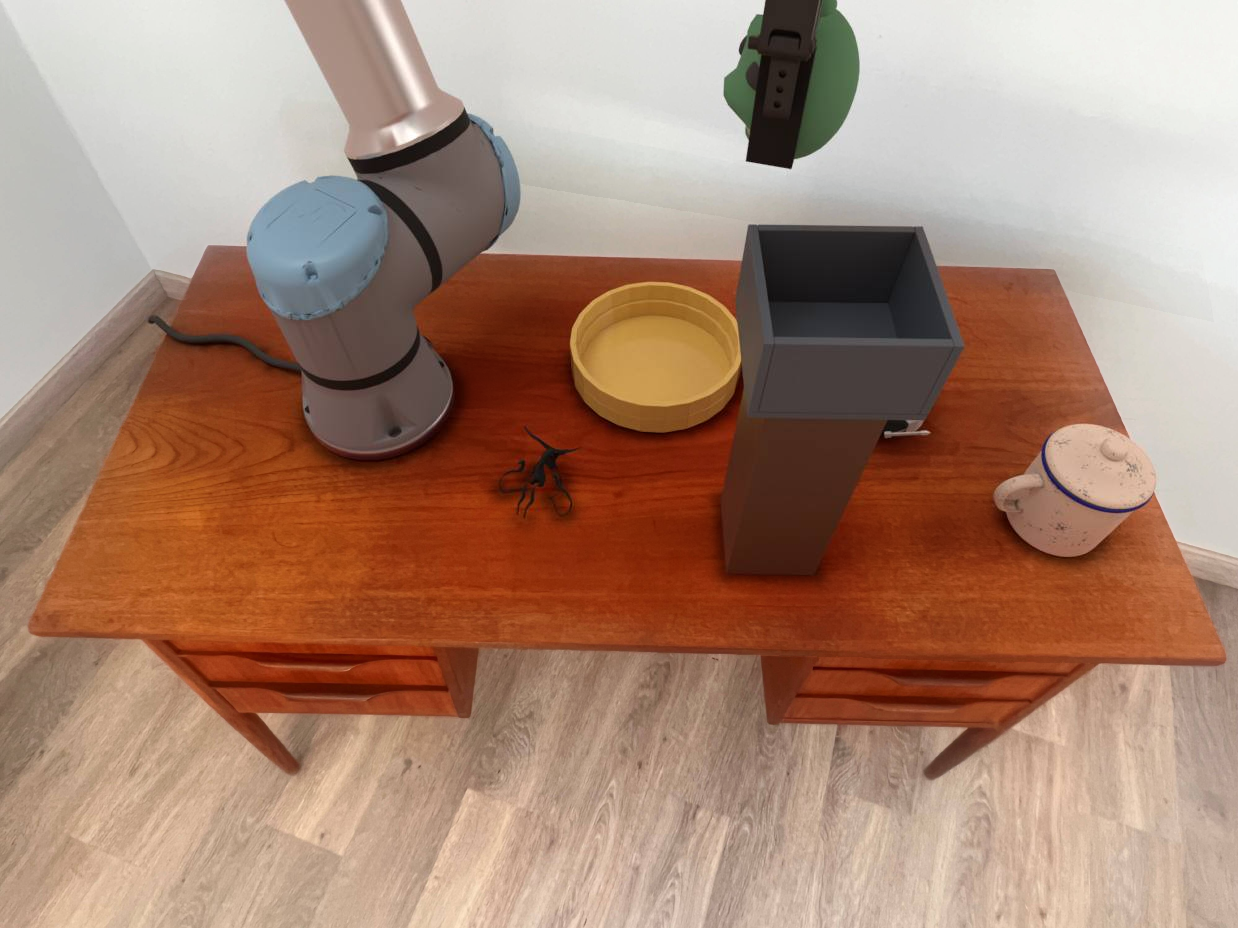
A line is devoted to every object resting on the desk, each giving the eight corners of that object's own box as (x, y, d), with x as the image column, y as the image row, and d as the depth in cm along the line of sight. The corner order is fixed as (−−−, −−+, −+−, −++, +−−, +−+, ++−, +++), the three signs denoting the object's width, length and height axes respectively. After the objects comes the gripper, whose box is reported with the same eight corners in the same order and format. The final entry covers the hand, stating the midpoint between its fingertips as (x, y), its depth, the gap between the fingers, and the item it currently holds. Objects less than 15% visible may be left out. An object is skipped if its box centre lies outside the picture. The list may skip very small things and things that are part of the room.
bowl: (547, 408, 78) (544, 380, 74) (604, 297, 88) (603, 267, 84) (714, 453, 75) (719, 425, 71) (753, 332, 85) (760, 302, 81)
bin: (708, 587, 66) (764, 343, 41) (703, 487, 72) (748, 223, 47) (834, 589, 66) (965, 346, 41) (817, 489, 72) (923, 226, 47)
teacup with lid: (1076, 476, 73) (1144, 400, 64) (1119, 557, 68) (1200, 487, 58) (958, 483, 73) (1009, 407, 63) (991, 565, 67) (1052, 496, 58)
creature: (560, 537, 70) (595, 466, 73) (550, 518, 65) (588, 443, 68) (489, 508, 72) (526, 440, 75) (474, 487, 67) (514, 415, 70)
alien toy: (710, 123, 49) (728, -52, 41) (826, 120, 49) (867, -54, 41) (722, 185, 45) (745, 5, 36) (849, 183, 45) (900, 2, 37)
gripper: (992, -448, 21) (817, 236, 39) (1002, -489, 32) (862, 60, 50) (729, -453, 22) (681, 211, 41) (826, -490, 33) (753, 45, 52)
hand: (781, 127), depth 45 cm, fingers closed on alien toy, 7 cm apart
